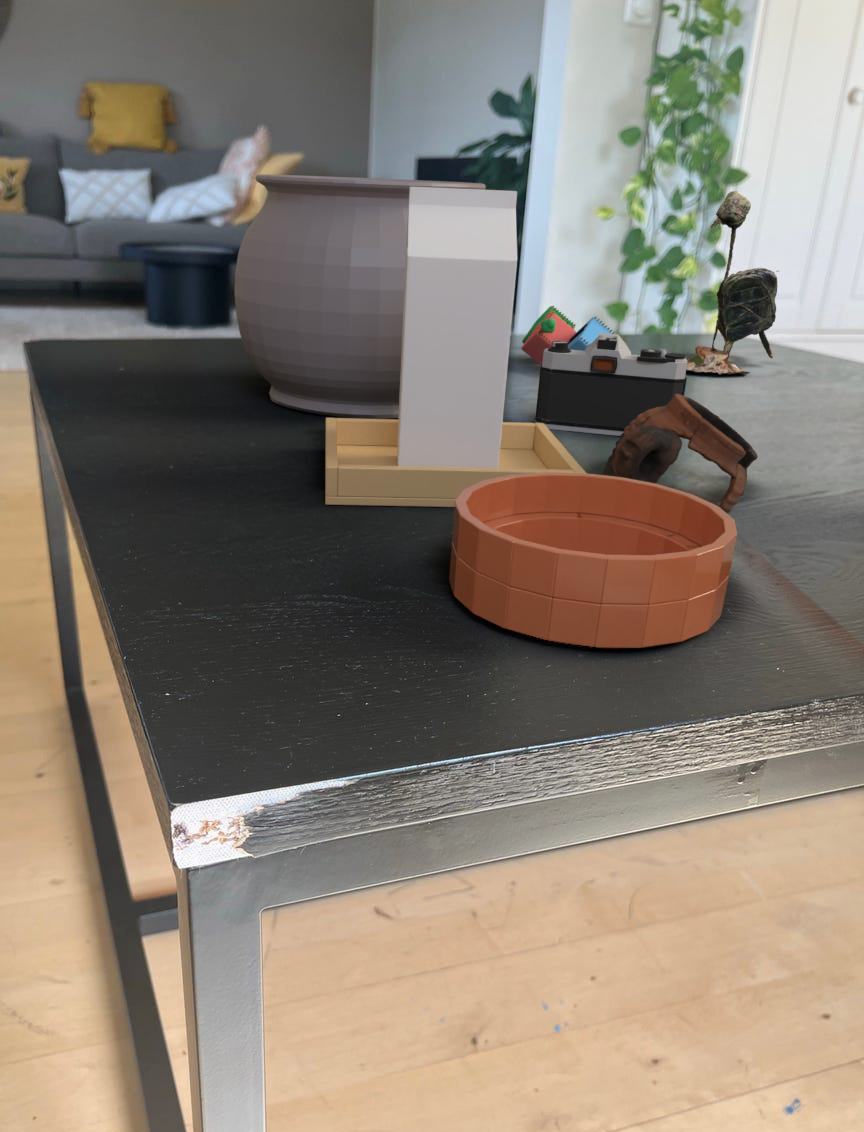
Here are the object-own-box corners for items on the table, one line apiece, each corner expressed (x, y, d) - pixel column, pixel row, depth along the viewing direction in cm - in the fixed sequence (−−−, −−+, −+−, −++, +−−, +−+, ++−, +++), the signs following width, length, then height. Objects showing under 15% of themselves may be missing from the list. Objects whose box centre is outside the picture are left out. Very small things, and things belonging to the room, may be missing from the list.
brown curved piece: (618, 477, 77) (689, 389, 73) (707, 557, 73) (787, 469, 70) (549, 467, 67) (627, 365, 64) (648, 558, 64) (736, 456, 60)
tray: (540, 454, 81) (543, 422, 80) (582, 509, 68) (587, 473, 66) (325, 449, 80) (325, 417, 78) (325, 505, 66) (325, 467, 65)
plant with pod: (770, 383, 114) (808, 194, 106) (670, 373, 117) (699, 189, 109) (768, 371, 121) (804, 193, 113) (674, 363, 124) (702, 189, 116)
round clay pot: (184, 406, 92) (172, 171, 83) (314, 367, 112) (316, 175, 104) (430, 443, 83) (445, 183, 74) (523, 393, 103) (543, 185, 95)
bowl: (668, 554, 60) (682, 474, 58) (762, 659, 47) (784, 561, 45) (437, 551, 59) (442, 469, 57) (468, 656, 46) (476, 556, 44)
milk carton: (497, 485, 70) (523, 192, 62) (397, 481, 70) (410, 187, 62) (488, 459, 76) (511, 190, 68) (396, 455, 76) (408, 185, 68)
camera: (678, 424, 93) (687, 324, 89) (682, 442, 86) (691, 335, 82) (539, 422, 96) (542, 326, 92) (532, 440, 89) (535, 336, 85)
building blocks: (554, 404, 121) (606, 360, 110) (503, 362, 120) (551, 313, 109) (583, 360, 124) (637, 313, 113) (534, 318, 123) (583, 267, 112)
